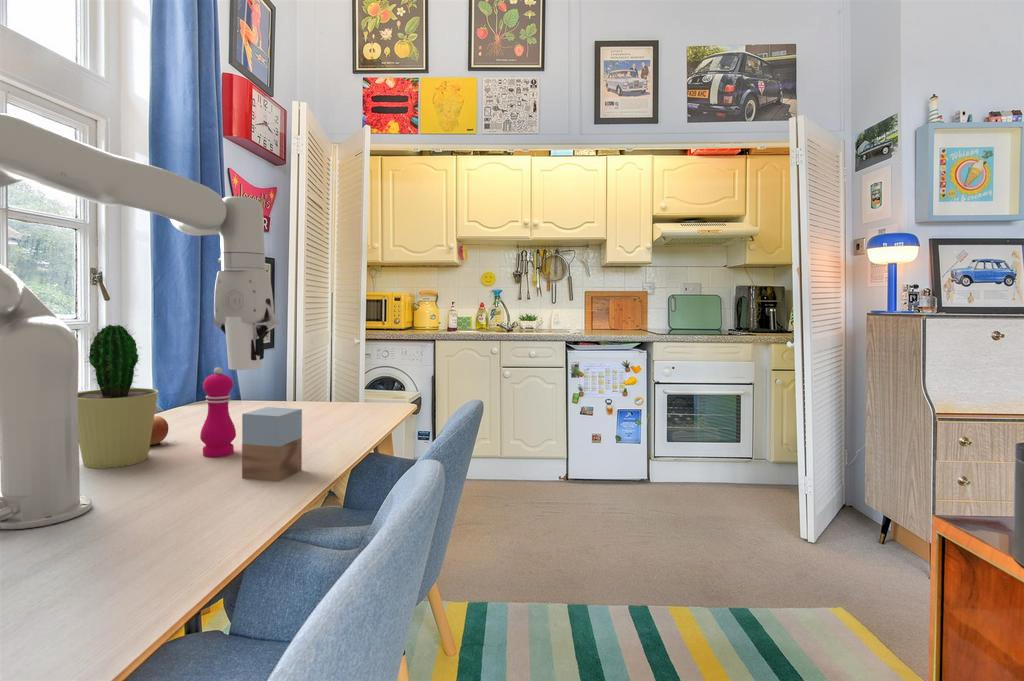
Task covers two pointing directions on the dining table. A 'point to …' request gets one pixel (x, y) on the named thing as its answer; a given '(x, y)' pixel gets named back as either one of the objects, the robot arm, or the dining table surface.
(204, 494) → the dining table surface
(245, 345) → the white cup
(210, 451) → the pepper mill
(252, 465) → the walnut block
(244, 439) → the slate block
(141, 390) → the potted cactus
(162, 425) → the apple
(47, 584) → the dining table surface
